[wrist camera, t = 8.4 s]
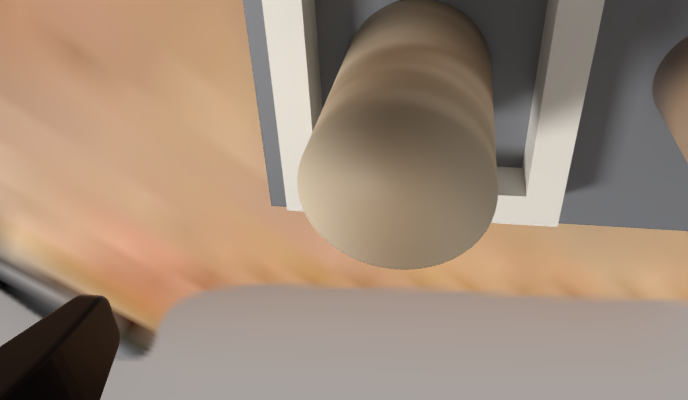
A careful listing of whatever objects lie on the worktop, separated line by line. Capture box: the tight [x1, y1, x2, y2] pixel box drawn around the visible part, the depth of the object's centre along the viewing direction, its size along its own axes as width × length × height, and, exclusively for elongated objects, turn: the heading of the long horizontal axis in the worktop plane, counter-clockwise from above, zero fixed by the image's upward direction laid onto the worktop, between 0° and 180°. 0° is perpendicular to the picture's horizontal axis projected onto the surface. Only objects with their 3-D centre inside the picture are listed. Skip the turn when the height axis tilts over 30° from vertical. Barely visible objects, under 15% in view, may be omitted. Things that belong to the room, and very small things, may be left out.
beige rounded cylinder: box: [297, 0, 498, 270], centre depth 14 cm, size 4×4×6 cm
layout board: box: [243, 0, 688, 231], centre depth 16 cm, size 16×10×4 cm, turn 93°
